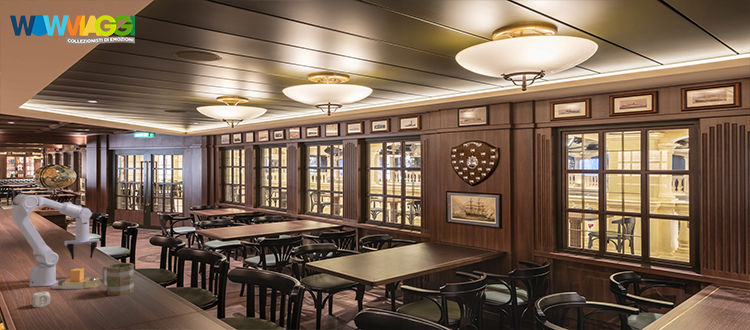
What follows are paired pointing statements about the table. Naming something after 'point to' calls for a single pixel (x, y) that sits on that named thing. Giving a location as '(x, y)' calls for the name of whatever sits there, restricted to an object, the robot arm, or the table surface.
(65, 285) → the square frame connector
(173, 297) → the table surface
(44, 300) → the die
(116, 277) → the mug
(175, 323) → the table surface
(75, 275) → the orange rectangular peg
